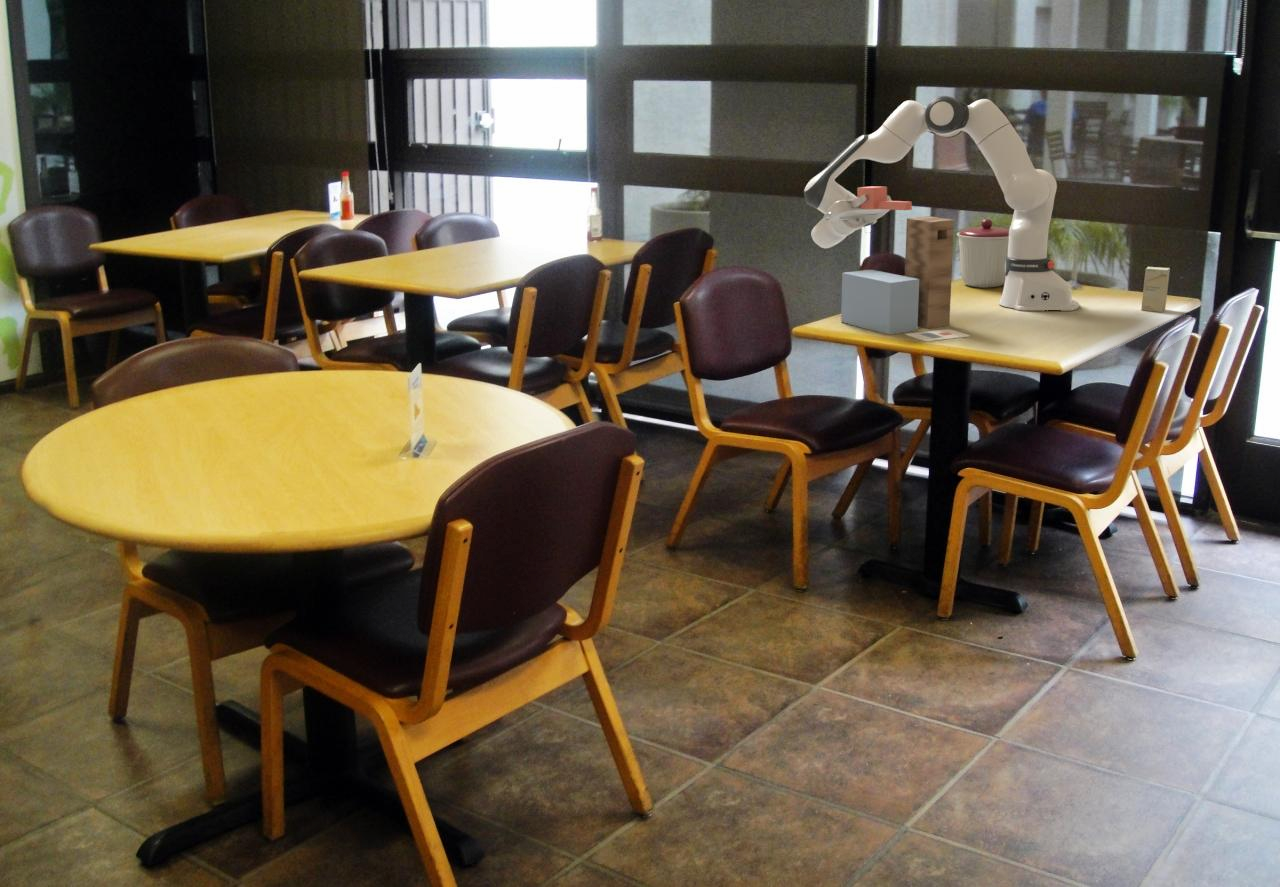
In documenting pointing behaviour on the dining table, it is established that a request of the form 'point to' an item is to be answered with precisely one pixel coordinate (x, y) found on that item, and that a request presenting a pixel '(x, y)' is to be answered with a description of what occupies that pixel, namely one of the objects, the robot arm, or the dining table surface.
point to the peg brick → (881, 199)
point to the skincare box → (1155, 289)
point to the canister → (983, 255)
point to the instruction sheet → (937, 335)
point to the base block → (880, 301)
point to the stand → (931, 267)
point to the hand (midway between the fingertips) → (875, 195)
